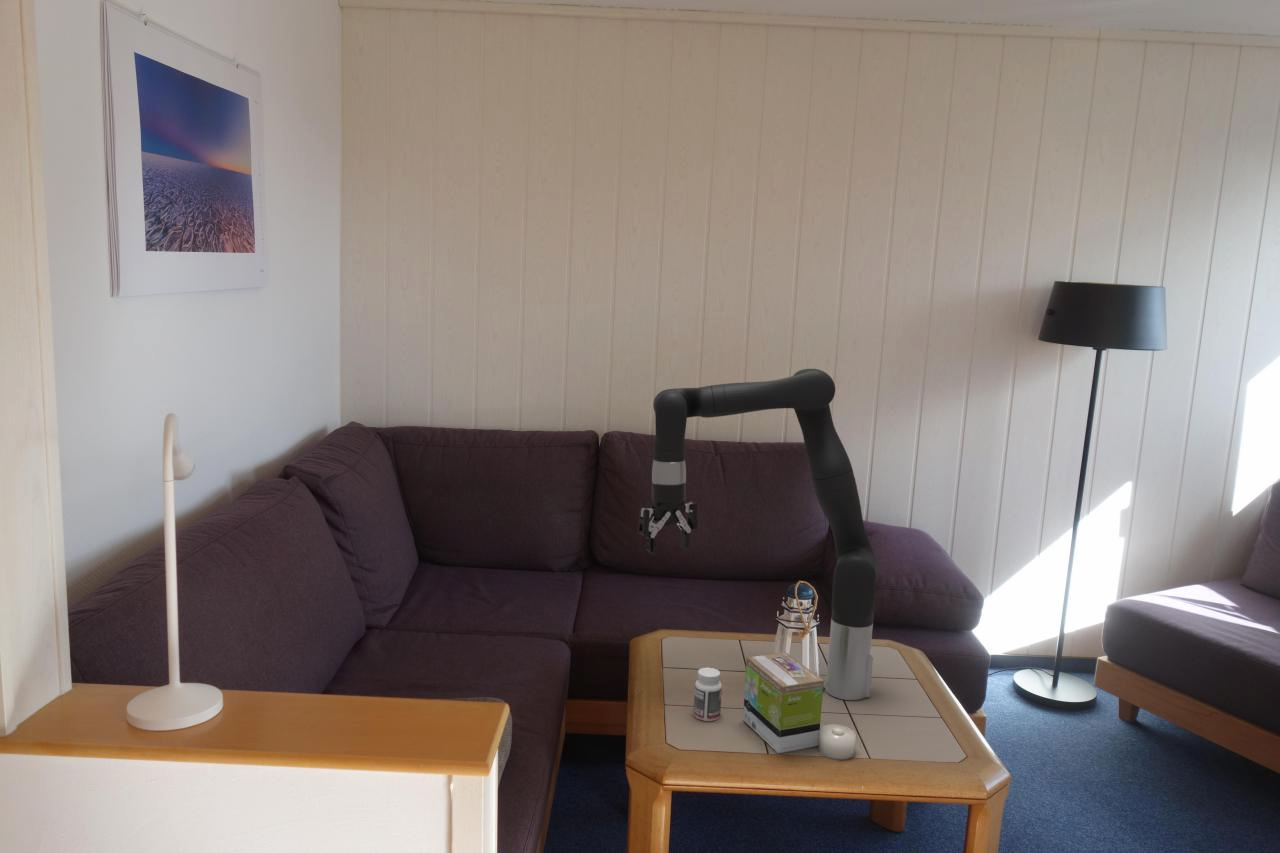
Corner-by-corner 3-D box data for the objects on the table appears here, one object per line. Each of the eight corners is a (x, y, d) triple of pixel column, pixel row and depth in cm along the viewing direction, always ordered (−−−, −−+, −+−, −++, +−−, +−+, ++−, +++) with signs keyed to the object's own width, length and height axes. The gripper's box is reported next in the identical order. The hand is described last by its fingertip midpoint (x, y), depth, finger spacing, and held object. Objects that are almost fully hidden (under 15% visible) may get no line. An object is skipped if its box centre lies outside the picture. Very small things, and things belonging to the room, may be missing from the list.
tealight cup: (848, 742, 203) (850, 720, 202) (858, 760, 196) (860, 737, 195) (814, 742, 202) (816, 720, 201) (823, 760, 195) (825, 737, 194)
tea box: (740, 721, 210) (745, 655, 207) (781, 714, 214) (786, 649, 211) (777, 755, 196) (782, 684, 193) (820, 747, 200) (826, 678, 197)
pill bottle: (720, 711, 214) (723, 667, 212) (719, 723, 208) (722, 678, 207) (693, 708, 214) (696, 665, 213) (692, 720, 209) (695, 676, 207)
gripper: (686, 474, 226) (685, 543, 229) (632, 479, 219) (631, 551, 221) (705, 480, 220) (703, 550, 222) (650, 485, 213) (649, 559, 215)
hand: (667, 551), depth 222 cm, fingers open, 8 cm apart
